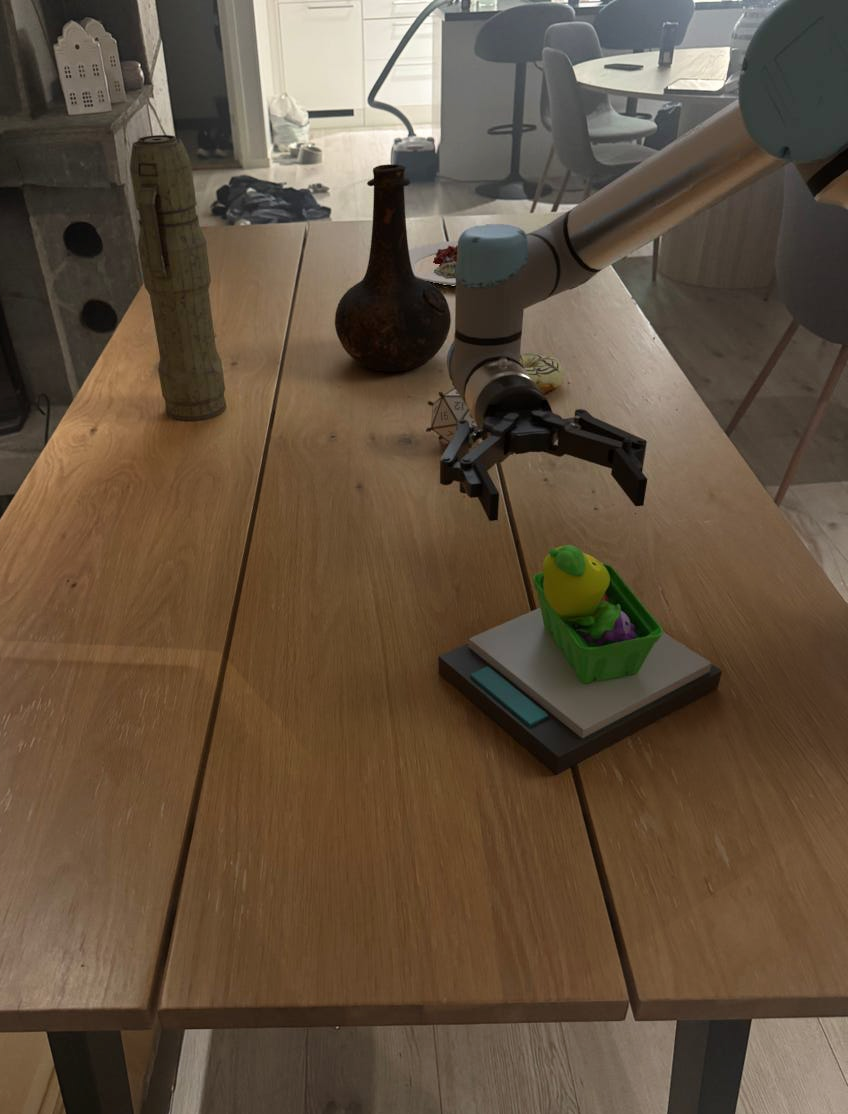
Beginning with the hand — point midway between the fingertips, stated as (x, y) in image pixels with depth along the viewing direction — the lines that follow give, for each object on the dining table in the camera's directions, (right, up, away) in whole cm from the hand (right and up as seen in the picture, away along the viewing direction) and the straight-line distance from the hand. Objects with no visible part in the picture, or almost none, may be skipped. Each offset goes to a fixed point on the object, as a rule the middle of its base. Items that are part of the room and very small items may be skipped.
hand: (568, 500), depth 86 cm
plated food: (+3, +60, +103) cm, 119 cm away
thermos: (-43, +21, +52) cm, 71 cm away
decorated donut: (+5, +25, +55) cm, 61 cm away
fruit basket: (+1, -14, -1) cm, 14 cm away
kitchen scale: (+1, -16, +1) cm, 16 cm away
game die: (-6, +13, +40) cm, 43 cm away
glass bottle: (-14, +31, +65) cm, 73 cm away
